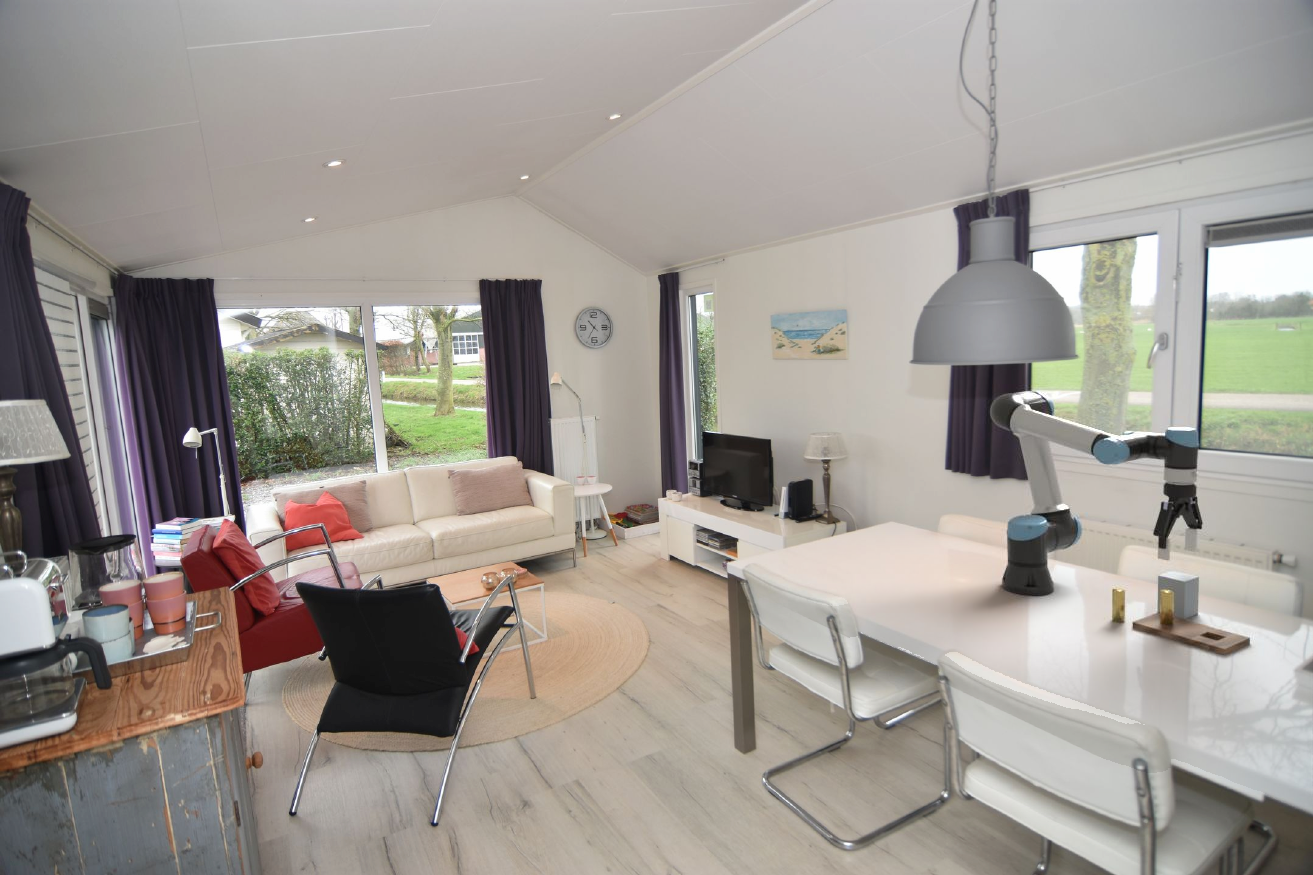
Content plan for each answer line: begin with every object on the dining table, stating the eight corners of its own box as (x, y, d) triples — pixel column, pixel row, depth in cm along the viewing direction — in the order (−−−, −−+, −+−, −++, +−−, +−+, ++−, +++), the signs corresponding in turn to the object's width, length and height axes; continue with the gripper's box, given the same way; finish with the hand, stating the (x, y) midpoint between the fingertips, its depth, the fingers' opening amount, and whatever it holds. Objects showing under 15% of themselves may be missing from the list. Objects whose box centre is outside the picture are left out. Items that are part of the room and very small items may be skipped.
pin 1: (1109, 619, 202) (1110, 589, 201) (1116, 617, 203) (1116, 587, 202) (1120, 623, 199) (1120, 592, 198) (1126, 620, 201) (1127, 590, 199)
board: (1132, 627, 196) (1132, 621, 196) (1157, 617, 201) (1157, 612, 201) (1224, 655, 176) (1224, 648, 176) (1249, 643, 181) (1249, 637, 181)
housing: (1157, 611, 205) (1158, 575, 204) (1171, 606, 208) (1171, 570, 207) (1184, 619, 199) (1185, 581, 198) (1198, 613, 202) (1198, 576, 201)
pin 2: (1157, 622, 194) (1158, 591, 193) (1163, 620, 195) (1164, 588, 194) (1169, 626, 191) (1170, 594, 190) (1175, 623, 193) (1176, 591, 192)
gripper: (1169, 490, 190) (1166, 566, 193) (1219, 478, 201) (1216, 549, 204) (1139, 486, 197) (1137, 559, 200) (1190, 474, 208) (1187, 544, 211)
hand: (1177, 554), depth 202 cm, fingers open, 13 cm apart
